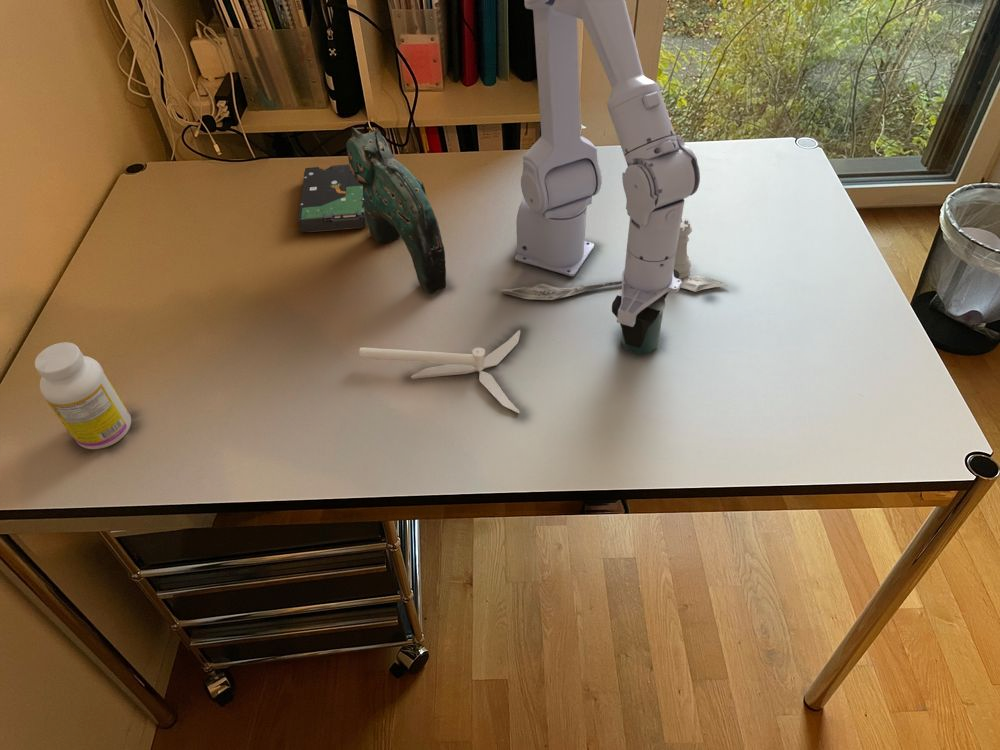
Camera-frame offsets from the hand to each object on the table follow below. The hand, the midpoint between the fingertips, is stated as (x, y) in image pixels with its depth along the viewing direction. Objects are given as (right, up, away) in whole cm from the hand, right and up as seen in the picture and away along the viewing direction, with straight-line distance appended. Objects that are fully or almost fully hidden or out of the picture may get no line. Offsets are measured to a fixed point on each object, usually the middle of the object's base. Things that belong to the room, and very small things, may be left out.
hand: (640, 331), depth 100 cm
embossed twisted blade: (-2, +6, +8) cm, 11 cm away
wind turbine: (-25, -5, 0) cm, 26 cm away
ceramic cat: (-32, +11, +15) cm, 37 cm away
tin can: (0, -1, +1) cm, 2 cm away
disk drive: (-44, +22, +25) cm, 56 cm away
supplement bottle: (-66, -13, -6) cm, 68 cm away
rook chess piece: (+7, +9, +10) cm, 15 cm away
